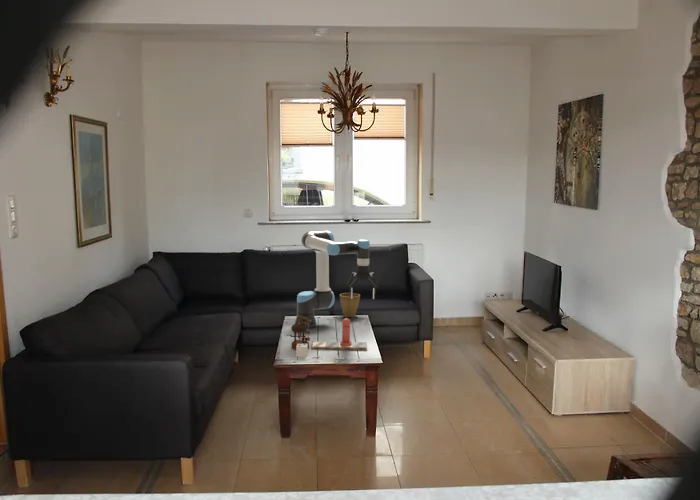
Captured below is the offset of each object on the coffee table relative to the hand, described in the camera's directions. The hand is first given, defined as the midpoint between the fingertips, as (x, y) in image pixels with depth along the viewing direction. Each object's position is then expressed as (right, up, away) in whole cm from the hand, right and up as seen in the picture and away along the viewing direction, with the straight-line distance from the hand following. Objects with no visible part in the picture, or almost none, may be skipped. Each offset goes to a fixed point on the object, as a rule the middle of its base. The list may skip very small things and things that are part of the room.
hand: (362, 298), depth 369 cm
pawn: (-10, -27, -12) cm, 31 cm away
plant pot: (-8, -18, +65) cm, 68 cm away
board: (-14, -28, -11) cm, 34 cm away
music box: (-38, -29, -14) cm, 50 cm away
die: (-35, -30, -28) cm, 54 cm away
